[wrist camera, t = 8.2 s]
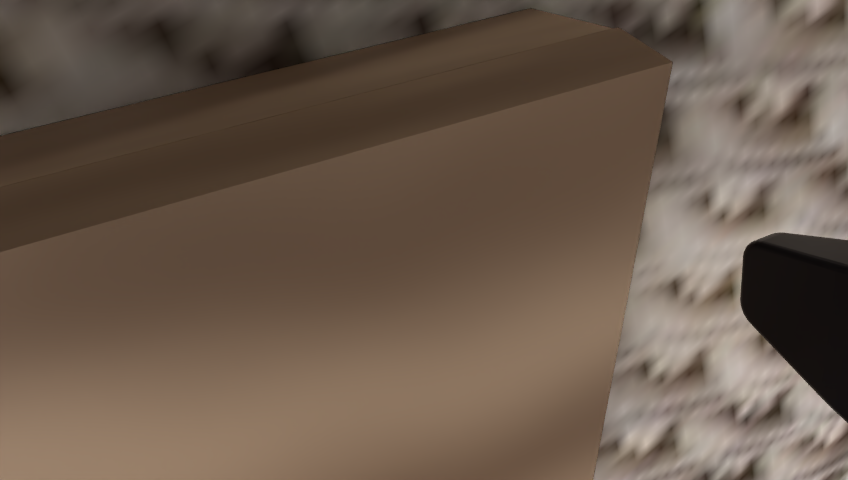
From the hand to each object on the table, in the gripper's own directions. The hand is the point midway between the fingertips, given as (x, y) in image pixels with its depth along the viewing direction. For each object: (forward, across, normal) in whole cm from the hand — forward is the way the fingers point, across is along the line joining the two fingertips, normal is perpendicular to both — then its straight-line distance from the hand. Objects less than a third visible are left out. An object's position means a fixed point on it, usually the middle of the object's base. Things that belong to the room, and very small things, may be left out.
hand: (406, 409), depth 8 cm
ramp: (+6, 0, +4) cm, 7 cm away
